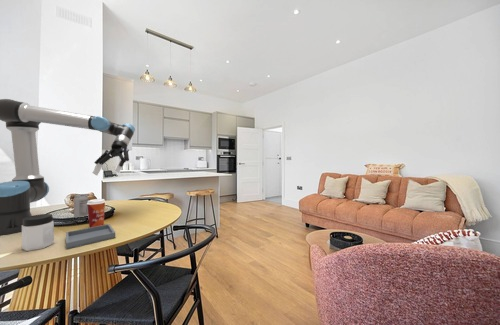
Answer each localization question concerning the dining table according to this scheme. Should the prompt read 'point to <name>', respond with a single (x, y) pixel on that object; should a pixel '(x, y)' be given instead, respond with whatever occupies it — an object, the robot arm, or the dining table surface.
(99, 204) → the paper cup
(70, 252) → the dining table surface
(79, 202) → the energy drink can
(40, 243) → the jar
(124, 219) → the dining table surface
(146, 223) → the dining table surface
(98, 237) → the tray
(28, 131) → the robot arm
